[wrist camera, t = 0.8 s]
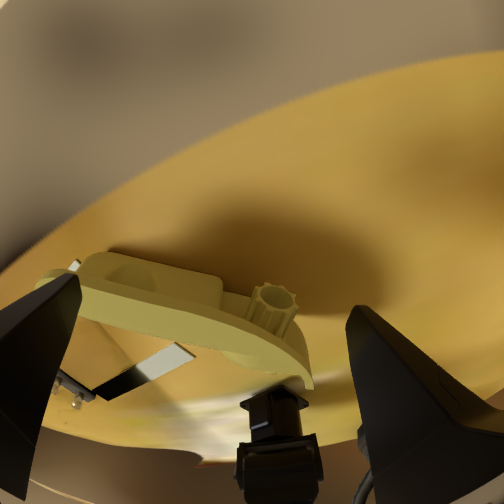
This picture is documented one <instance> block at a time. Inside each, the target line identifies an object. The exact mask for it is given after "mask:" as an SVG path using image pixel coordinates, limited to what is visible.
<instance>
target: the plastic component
mask: <svg viewBox="0 0 504 504" xmlns="http://www.w3.org/2000/svg"><path fill="white" fill-rule="evenodd" d="M64 273H73V274H77V275H78V277H79V281H80V286H81V290H82V303H81V306H80V309H79V312H78V315H77V316H81V317H84V318H87V319H90V320H94V321H97V322H101V323H104V324H108V325H111V326H115V327H118V328H122V329H126V330H130V331H134V332H137V333H141V334H145V335H150V336H154V337H158V338H162V339H167V340H171V341H176V342H180V343H185V344H190V345H195V346H200V347H205V348H210V349H216V350H220V351H221V352H222V353H223V355H225V356H226V357H227V358H228V359H229V360H231V361H232V362H234V363H236V364H238V365H239V366H242V367H245V368H248V369H252V370H258V371H265V372H266V373H268V374H272V375H273V374H277V373H283V374H293V375H300V376H301V377H302V379H303V380H304V383H305V388H306V389H311V390H314V384H313V379H312V374H311V369H310V364H309V355H308V350H307V345H306V341H305V338H304V336H303V333H302V331H301V329H300V328H299V326H298V325H297V324H296V323H295V322H294V321H293V319H294V317H295V315H296V313H297V311H298V309H299V306H298V305H297V304H296V301H295V298H296V295H295V294H294V293H290V292H289V291H287V290H286V289H285V286H282V285H279V286H276V285H271V284H270V283H269V282H265V283H264V284H263V286H262V287H258V286H256V287H255V288H254V291H253V293H252V296H251V298H250V297H246V296H243V295H239V294H235V293H231V292H226V291H223V282H222V280H221V279H220V278H219V277H217V276H213V275H209V274H204V273H200V272H195V271H191V270H186V269H182V268H177V267H173V266H169V265H164V264H160V263H156V262H151V261H147V260H143V259H139V258H135V257H131V256H126V255H122V254H118V253H114V252H100V253H96V254H93V255H91V256H89V257H87V258H86V259H85V260H84V261H83V262H82V263H81V264H80V266H79V267H78V269H77V270H76V271H71V270H68V269H54V270H51V271H48V272H47V273H45V274H44V275H43V276H42V277H41V278H40V280H39V281H38V282H37V283H36V286H35V289H34V290H36V289H37V288H39V287H41V286H43V285H45V284H46V283H48V282H50V281H52V280H54V279H55V278H57V277H59V276H61V275H63V274H64Z"/></svg>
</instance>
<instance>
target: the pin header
mask: <svg viewBox="0 0 504 504" xmlns="http://www.w3.org/2000/svg"><path fill="white" fill-rule="evenodd" d="M60 385H62V386H64V387H65V388H67V389H68V390H69V391H71V392H72V393H74V394H75V396H74V399H73V401H72V404H71V405H72V407H74V408H75V409H80V408H81V405H82V402H83V400H85V401H86V402H90V401H92V400H94V399H95V397H96V394H95V393H94V392H92V391H91V390H90V389H88V388H87V387H85V386H84V385H82V384H81V383H79V382H78V381H76V380H75V379H73V378H72V377H71V376H69V375H68V374H66V373H65V372H64V371H62V370H61V369H60V368H59V371H58V373H57V376H56V379H55V382H54V385H53V388H52V391H51V393H53V394H57V393H58V390H59V388H60Z"/></svg>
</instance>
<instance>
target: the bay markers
mask: <svg viewBox="0 0 504 504" xmlns="http://www.w3.org/2000/svg"><path fill="white" fill-rule="evenodd" d="M79 266H80V263H79V262H78V261H77V260H75V261H74V262H73V263H72V265H71V266H70V267H69V268H68V270H71V271H76V270H77V269H78V267H79ZM192 359H194V356H193V355H191V354H190V353H188V352H187V351H186V350H184V349H183V348H181V347H180V346H179V345H177V344H176V343H175V342H173V343H172V344H170V345H168V346H167V347H165V348H163V349H162V350H160V351H158V352H157V353H155V354H153V355H152V356H150V357H148V358H147V359H145V360H143V361H141V362H140V363H138V364H136V365H135V366H133V367H131V368H129V369H128V370H126V371H124V372H122V373H121V374H119V375H117V376H115V377H114V378H112V379H110V380H108V381H107V382H105V383H103V384H101V385H100V386H98V387H96V388H94V389H92V392H94V393H95V394H97V395H99V396H100V397H102V398H103V399H105V400H107V401H110V400H112V399H114V398H116V397H118V396H120V395H122V394H125V393H127V392H129V391H131V390H133V389H135V388H137V387H139V386H141V385H143V384H145V383H147V382H149V381H151V380H153V379H155V378H157V377H159V376H161V375H163V374H165V373H167V372H169V371H171V370H173V369H175V368H177V367H179V366H181V365H183V364H184V363H186V362H188V361H190V360H192Z"/></svg>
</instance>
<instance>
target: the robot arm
mask: <svg viewBox="0 0 504 504" xmlns="http://www.w3.org/2000/svg"><path fill="white" fill-rule="evenodd" d="M81 303H82V290H81V286H80V281H79V277H78V275H77V274H73V273H64V274H63V275H61V276H59V277H57V278H55V279H54V280H52V281H50V282H48V283H46V284H45V285H43V286H41V287H39V288H37V289H36V290H34V291H32V292H30V293H29V294H27V295H25V296H24V297H22V298H20V299H18V300H17V301H15V302H13V303H12V304H10V305H8V306H7V307H5V308H3V309H2V310H0V488H1V489H3V490H4V491H6V492H8V493H10V494H12V495H14V496H15V497H17V498H19V499H21V500H23V501H25V499H26V494H27V488H28V482H29V476H30V471H31V466H32V461H33V457H34V452H35V446H36V443H37V439H38V435H39V431H40V427H41V424H42V420H43V417H44V413H45V410H46V407H47V404H48V400H49V397H50V394H51V391H52V388H53V385H54V382H55V379H56V376H57V373H58V371H59V368H60V365H61V362H62V360H63V357H64V354H65V352H66V349H67V347H68V344H69V341H70V339H71V335H72V332H73V329H74V325H75V322H76V319H77V315H78V312H79V309H80V306H81ZM345 330H346V337H347V345H348V352H349V361H350V367H351V372H352V377H353V381H354V386H355V390H356V395H357V399H358V404H359V408H360V413H361V418H362V423H363V428H364V433H365V438H366V444H367V449H368V455H369V460H370V466H371V472H372V477H373V478H372V480H373V486H374V493H375V500H376V504H504V410H500V409H496V408H494V407H492V406H491V405H489V404H488V403H486V402H485V401H484V400H482V399H481V398H480V397H478V396H477V395H476V394H474V393H473V392H472V391H470V390H469V389H468V388H466V387H465V386H464V385H462V384H461V383H460V382H458V381H457V380H456V379H455V378H453V377H452V376H451V375H450V374H449V373H447V372H446V371H445V370H444V369H443V368H442V367H440V366H439V365H437V363H436V362H434V361H433V360H432V359H431V358H430V357H429V356H427V355H426V354H425V353H424V352H423V351H421V350H420V349H419V348H418V347H417V346H416V345H414V344H413V343H412V342H411V341H410V340H408V339H407V338H406V337H405V336H404V335H402V334H401V333H400V332H399V331H398V330H396V329H395V328H394V327H393V326H391V325H390V324H389V323H388V322H387V321H385V320H384V319H383V318H382V317H380V316H379V315H378V314H377V313H376V312H374V311H373V310H372V309H371V308H369V307H368V306H367V305H355V306H354V307H353V309H352V311H351V313H350V316H349V318H348V320H347V322H346V327H345ZM308 406H309V402H308V401H306V400H305V399H303V398H302V397H300V396H299V395H297V394H296V393H294V392H293V391H291V390H290V389H288V388H287V387H285V386H284V385H279V386H277V387H275V388H272V389H270V390H268V391H266V392H263V393H261V394H259V395H256V396H254V397H252V398H249V399H247V400H244V401H242V402H240V407H241V408H243V409H245V410H247V411H249V425H250V429H251V442H250V443H244V442H241V443H239V448H237V462H236V467H235V472H234V480H235V481H237V482H238V485H239V488H240V490H241V491H244V499H245V501H246V503H247V504H316V502H317V500H318V494H319V487H318V483H321V482H323V481H324V478H323V468H322V462H321V457H320V452H319V447H318V443H317V438H316V433H313V434H311V435H306V436H303V432H302V426H301V419H300V413H299V410H301V409H304V408H306V407H308ZM0 504H1V503H0Z"/></svg>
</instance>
